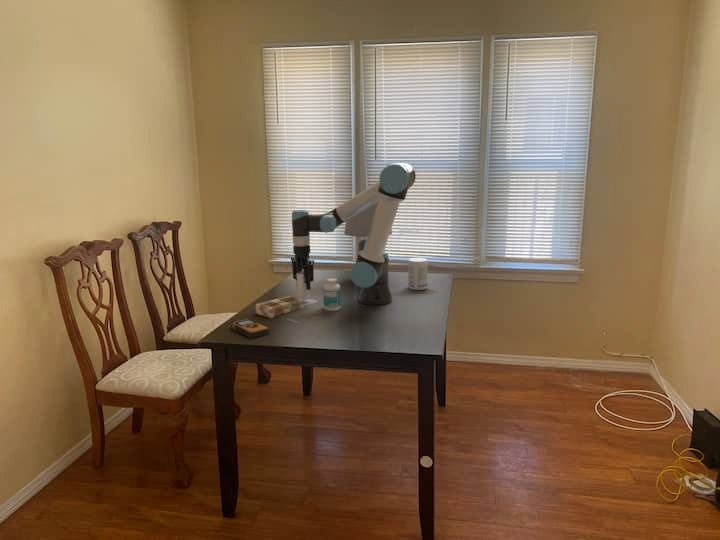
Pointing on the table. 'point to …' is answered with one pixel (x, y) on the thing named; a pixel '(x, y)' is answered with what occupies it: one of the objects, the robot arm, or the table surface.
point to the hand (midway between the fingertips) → (304, 295)
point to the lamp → (361, 225)
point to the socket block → (279, 306)
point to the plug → (301, 286)
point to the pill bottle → (332, 295)
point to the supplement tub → (417, 273)
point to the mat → (309, 302)
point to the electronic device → (250, 328)
